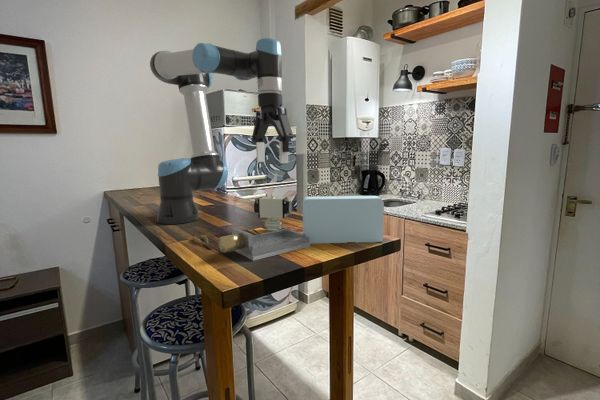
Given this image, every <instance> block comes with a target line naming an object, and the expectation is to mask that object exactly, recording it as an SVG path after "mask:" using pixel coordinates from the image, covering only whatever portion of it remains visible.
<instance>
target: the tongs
mask: <svg viewBox="0 0 600 400" xmlns="http://www.w3.org/2000/svg"><path fill="white" fill-rule="evenodd" d="M200 237H201V239H205V241H203V240H201V239H200V238H199V237H197V236H196V235H195V236H192V237H191V238H192V239H193V240H194V241H196V242H197V243H198V244H203V245H204V246H205V247H207V248H208V249H209V250H210V251H212V250H213V247H212V245H211V243H210V241H209V238H208V237H207V234H204V235H200Z"/></svg>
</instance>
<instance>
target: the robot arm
mask: <svg viewBox="0 0 600 400" xmlns="http://www.w3.org/2000/svg"><path fill="white" fill-rule="evenodd" d="M281 45H282V44H281V42H280V41H279V40H277V39H275V38H273V37H272V38H270V37H269V38H268V37H263V38H259V39H258V40H257V42H256V45H255V50H254V51H251V52H244V51H239V50H235V49H229V48H225V47H222V46H218V45H214V44H212V43H206V42H198V43H196V45H195V46H194V47H193V48H192V49H191V48H190V49H187V50H181V51H174V52H172V51H170V50H160V51H157V52H155V53H154V54H152V56H151V58H150V60H149V61H150V62H149V67H150V71H151V72H152V74H153V76H154V77H155V78H157V79H158V80H159V81H160V82H162V83H165V84H168V85H175V86H177V87H178V92H179V93H180V94H181V95H182V96H183V100H184V105H185V111H186V117H187V123H188V124H187V125H188V129H189V135H190V142H191V148H192V153H193V154H192V155H191V156H190V158H189V157H185V158H183V157H182V158H174V159H168V160H163V161H161V162H159V164H158V166H157V171H158V173H157V177H158V187H159V196H160V199H159V200H160V201H159V202H160V203H159V207H158V211H157V214H156V221H157V223H158V224H161V225H162V224H164V225H165V224H166V225H176V224H177V225H178V224H186V223H191V222H195V221H197V220H199V218H200V216H199V214H200V213H199V211H198V209H197V206H196V203H195V201H194V196H193V194H194V192H196V191H197V192H198V191H205V190H215V189H220V188H222V187H223V186H224V185H225V184H226V181H227V180H228V177H229V168H228V165H227V163H226V161H224V160H222V159H221V158H220V154H219V153H218V152H217V151H216V150H215V144H214V138H213V131H212V125H211V119H210V113H209V106H208V100H207V93H208V92H209V89H210V87H211V86H212V83H213V74H218V75H226V76H231V77H234V78H235V79H236V80H238V81H249V80H251V79H257V81H256V84H257V93H258V95H257V105H258V107H259V108H261V111H259V110H258V111H256V113H255V121H254V126H253V132H252V136H251V140H252V141H254V143H255V147H256V148H255V150H256V163H265V162H266V157H265V156H266V154H265V153H266V152H265V150H266V149H265V140H264V139H265V137H266V134H267V131H268V129H269V127H270V126H273V127H274V129H275V131H276V133H277V135H278V137H279V140H278V147H279V148H278V149H279V150H278V151H279V153H278V155H279V164H289V150H290V149H289V147H290V143H289V142H290V140H292V139H294V134H293V131H292V127H291V125H290V122H289V118H288V112H287V108H286V107H282V106H283V95H282V93H283V77H282V75H283V74H282V68H283V67H282V65H283V64H282V62H283V61H282V56H283V55H282V47H281Z"/></svg>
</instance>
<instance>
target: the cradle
mask: <svg viewBox="0 0 600 400" xmlns="http://www.w3.org/2000/svg"><path fill="white" fill-rule="evenodd" d="M309 247H311V244H310V243H309V237H307V236H306V234H303V232H299V231H296V230H293V229H290V228H284V229H283V228H281V229H279V230H277V231H267V232H262V233H258V234H253V233H250V232H248V231H245V230H243V229H240V228H238V227H232V228H231V234H229V235H224V236H220V237H219V238H218V248H219V251H220V252H221V253H222V254H224V253H229V252H236V253H238V254H240V255H241V256H244V257H245V258H247V259H249V260H250V261H258V260H261V259H267V258H270V257H273V256H277V255H282V254H286V253H289V252H293V251H297V250H301V249H306V248H309Z"/></svg>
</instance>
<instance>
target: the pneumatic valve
mask: <svg viewBox="0 0 600 400" xmlns="http://www.w3.org/2000/svg"><path fill="white" fill-rule="evenodd" d="M253 211H254V214H256V215H257V218H263V219H267V221H265V222H264V228H265V229H266V231H267V232H272V231H277V230H282V229H283V223H282V221H281V220H280V219H286V218H287V217H288V216H289V215H291V214H292V211H293V205H292V201H291V200H289V198H288V197H287V196H275V194H271V195H270V196H260V197H258V198H257V199H256V200H255V201H254V203H253Z"/></svg>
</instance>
